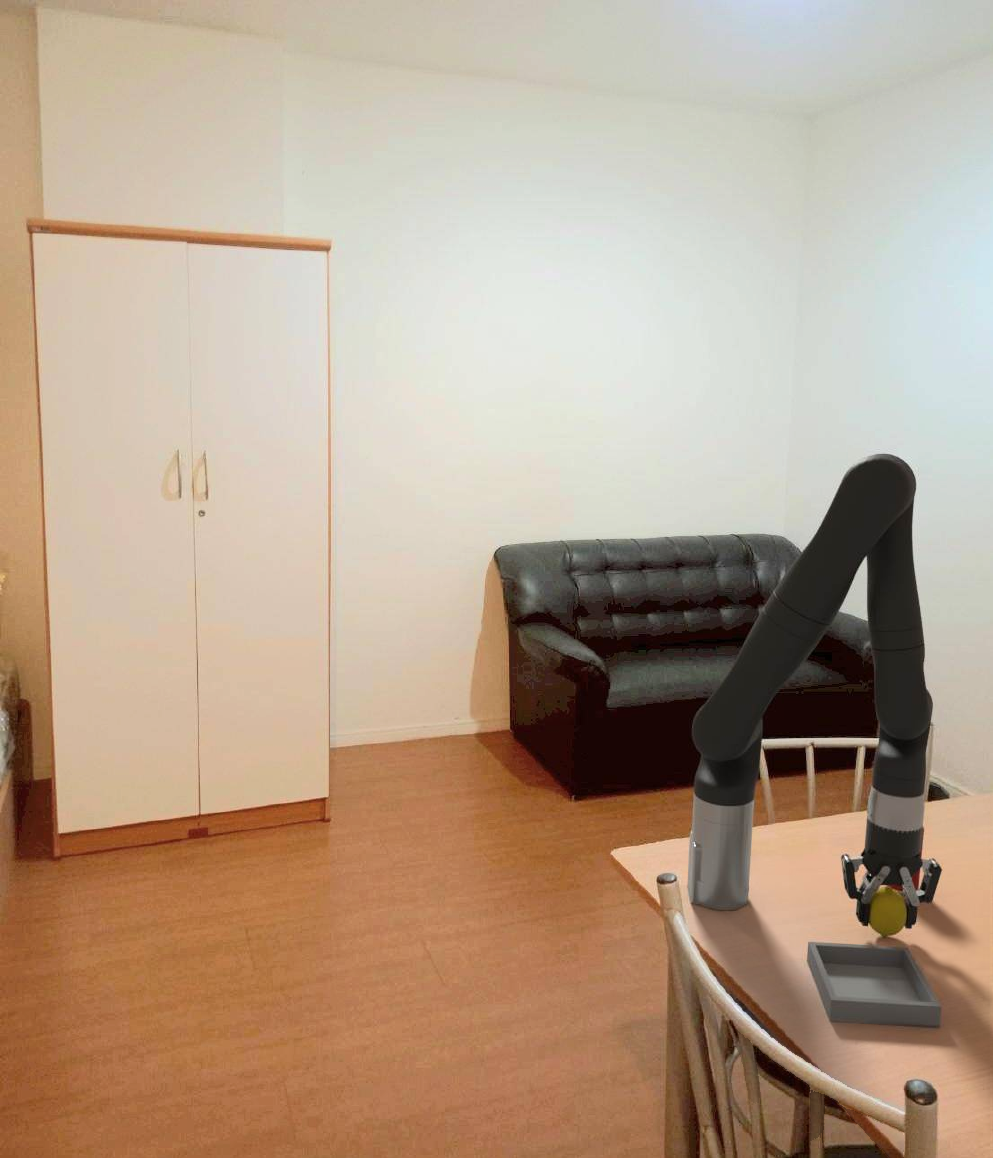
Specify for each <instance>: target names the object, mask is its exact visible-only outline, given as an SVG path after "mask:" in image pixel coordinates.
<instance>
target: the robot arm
mask: <svg viewBox="0 0 993 1158" xmlns="http://www.w3.org/2000/svg"><path fill="white" fill-rule="evenodd" d="M916 492H917V480H916V475H915V474H914V471H913V469H912V467H911V466H910V465H909V464H908V463H907V462H906V461H905V460H903V459H902V458H900V457H899V456H896V455H894V454H890V453H874V454H872V455H869V456H867V457H863V458H861V459H860V460H858V461H856V462H854V463H853V464H852V465H851V466H850V467H849V468H848V470H847V471H846V473H845V474H844V476H843V478H842V479H841V482H840V484H839V485H838V488H837V490H836V492H835V495H834V497H833V499H832V502H830V505H829V507H828V510H827V511H826V514H825V515H824V517H823V519H822V521H821V523H820V525H819V527H818V529H816V530H817V531H816V532H815V533H814V535H813V537H812V538H811V540H810V541H809V543H808V544H807V546H805V548H804V549H803V550H802V551H801V553H799V555H798V556H797V558H796V559H795V560H794V561H793V563H792V564H791V565H790V567H789V568H788V570H787V571H786V572H785V574H784V575H783V576H782V578H781V579H780V581H779V583H778V584H777V585H776V587H775V588H774V590H773V591H772V593H771V595H770V596H769V598H768V600H766V603H765V604H764V606H763V607H762V610H760V613H759V615H758V617H757V618H756V620H755V622H754V624H753V625H752V628H751V629H750V631H749V633H748V635H747V636H746V639H745V640H744V643H743V644H742V646H741V649H740V650H739V653H738V655H737V657H736V659H735V661H734V662H733V665H732V667H731V668H730V670H729V671H728V673H727V675H726V676H725V677H724V678H723V679H722V681H721V683H720V684H719V685H718V687H717V688H716V689H715V690H714V692H713V693H712V694H711V696H710V697H709V698H708V699H707V700H706V701H705V703H704V704H703V705H702V706H701V707H700V708H699V710H698V711H696V714H695V715H694V717H693V721H692V724H691V725H692V727H691V737H692V741H693V743H694V747H695V748H696V750H697V751H698V753H700V755H701V756H700V760H699V764H698V767H697V770H696V771H695V772H696V773H695V776H694V781H693V782H694V783H693V801H692V802H693V806H692V825H691V826H692V827H691V830H690V831H689V843H688V845H689V848H688V849H689V850H688V865H687V884H686V885H687V889H688V890H687V891H688V894H689V900H690V901H689V902H690V903H691V904H695V905H700V906H703V907H706V908H707V909H713V910H718V911H730V910H731V911H732V910H736V909H740V908H742V907H744V906H745V905H746V904H748V900H749V892H750V874H751V872H750V871H751V860H752V859H751V858H752V857H751V856H752V841H753V828H754V827H753V825H754V824H753V823H754V821H753V820H754V808H755V807H754V806H755V805H754V804H755V791H756V786H757V782H758V778H759V773H760V765H761V753H762V741H763V730H764V729H763V716H764V714H765V712H766V711H767V708H768V706H769V705H770V704H771V701H772V700H773V699H774V697H775V696H776V694H777V693H778V692H779V691H780V689H781V688H783V686H784V685H785V684H786V683H787V682H788V680H789V679H791V677H792V676H793V675H794V674H795V673H796V672H797V671H798V670H799V668H800V667H801V666H802V665H803V664H804V662H805V661H807V659H808V658H809V656H810V655H811V654H812V652H813V651H814V650H815V648H816V647H817V646H818V644H819V643H820V642H821V640H822V638H823V636H824V635H825V634H826V632H827V631H828V630H829V627H831V625H832V623H833V622H834V620H835V618H836V617H837V615H838V614H839V611H840V610H841V607H842V605H843V604H844V602H845V600H846V598H847V596H848V593H849V591H850V589H851V587H852V584H853V581H854V579H855V577H856V574H857V572H858V571H859V569H860V567H861V565H862V564H863V561H864V560H865V558H866V571H867V573H866V576H867V577H866V613H867V614H866V615H867V626H868V635H869V643H870V649H871V655H872V656H871V657H872V660H873V670H874V672H873V675H874V676H873V677H874V678H873V679H874V680H873V681H874V683H873V684H874V686H873V688H874V706H875V715H876V719H877V721H878V725H879V730H878V731H879V733H878V744H877V748H876V751H875V755H874V759H873V765H872V769H873V770H872V777H871V786H870V787H871V788H870V792H869V797H868V802H867V807H866V814H867V815H866V828H865V840H864V848H863V850H862V852H861V853H860V855H854V856H850V855H849V854H848V853H843V854H841V857H840V860H841V861H840V862H841V868H842V869H841V870H842V875H843V884H844V890H845V892H846V893H847V895H848V898H849V899H851V900H856V906H855V907H856V908H855V909H856V910H855V915H856V918H857V920H858V922H859V923H861V925H862V927H869V925H870V924H869V913H870V903H869V901H870V899H871V898H872V896H873V894H874V893H875V892H877V891H878V889H879V888H881V886H885V885H890V884H892V885H895V886H903V889H904V891H905V894H906V895H905V896H906V898H903V899H904V901H905V904H906V909H907V917H906V922H905V925H904V928H905V929H906V930H907V929H908V930H911V929H912V927H913V926H916V924H917V921H918V920H917V916H918V908H919V906H920V904H923V903H926V904H931V903H932V902H933V901H934V897H935V896H936V895H935V894H936V891H937V887H938V884H939V881H940V878H941V875H942V871H943V868H942V867H941V865H940V864H939V862H938V861H937V860H936V858H934V857H932V858H929V859H925V858H921V857H920V851H921V840H922V830H923V827H924V818H925V807H926V806H925V789H926V788H925V787H926V777H927V750H928V749H927V748H928V744H929V743H928V742H929V737H930V730H931V723H932V716H933V709H934V703H933V702H934V701H933V698H932V695H931V693H930V691H929V690H928V688H927V684H926V676H925V670H924V669H925V658H926V657H925V656H926V654H925V653H926V646H925V645H926V644H925V637H924V630H923V629H924V628H923V621H922V614H921V613H922V612H921V605H920V598H919V592H918V585H917V577H916V570H915V562H914V561H915V560H914V546H913V521H914V519H913V518H914V507H915V496H916ZM861 865H863V866H864V868H865V869H866V871H865V873H864V875H863V877H862V881H861V883H860V884H859V887H857V883H856V881H857V880H856V873H857V872H858V871H859V869H860V868H859V867H860V866H861ZM919 869H920V870H921V871H922V872H923V876H922V880H921V883H920V885H919V886H920V887H919V889H918V890H917V891H916V890H915V887H914V884H913V882H912V879H911V878H912V877H913V876H914V875H915V874H916V873H917V872H918V870H919Z"/></svg>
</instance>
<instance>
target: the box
mask: <svg viewBox="0 0 993 1158" xmlns="http://www.w3.org/2000/svg"><path fill="white" fill-rule="evenodd" d="M806 956H807V957H806V962H807V965H808V968H809V970H810V973H811V976H812V978H813V981H814V983H815V986H816V989H817V991H818V994H819V997H820V999H821V1002H822V1005H823V1006H824V1007H823V1008H824V1011H825V1012H826V1015H827V1018H828V1020H829V1022H838V1023H839V1022H842V1023H854V1024H855V1023H857V1024H858V1023H859V1024H872V1025H873V1024H874V1025H886V1026H887V1025H888V1026H889V1025H890V1026H905V1027H918V1028H920V1027H921V1028H937V1029H940V1028H941V1027H940V1026H941V1017H942V1007H943V1006H942V1005H941V1003H940V1001H939V999H938V998H937V996H936V994H935V992H934V990H933V989H932V987H931V985H930V983H929V982H928V979H927V978H926V977H925V975H924V973H923V971H922V969H921V968H920V966H919V964H918V963H917V962H918V961H916V959H915V957H914V955H913V954H912V952H911V950H910V949H909V947H906V946H891V945H890V946H889V945H873V944H854V943H841V942H839V943H836V942H820V941H808V943H807V955H806Z"/></svg>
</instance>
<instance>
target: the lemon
mask: <svg viewBox="0 0 993 1158" xmlns="http://www.w3.org/2000/svg"><path fill="white" fill-rule="evenodd" d="M904 899H905V898H904V897H903V895H901V894H900V893H898V892H897V891H896V890H894V889H892V888H891V887H889V886H887V887H886V886H883V887H879V889H878V891H877V892H875V893H874V894H873V896H872V898H871V899H870V901H869V903H870V913H869V924H868V925H869V926H870V927H871V929H872V930H873V931H875V932H876V934H877V933H878V934H879V935H880V936H881V937H882V938H887V937H890V936H892V937H893V936H894V935H897V934H898V933H900V932H901V931H902V929H904V928H905V926H904V925H905V922H906V917H907V909H906V904H905V901H904Z"/></svg>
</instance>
